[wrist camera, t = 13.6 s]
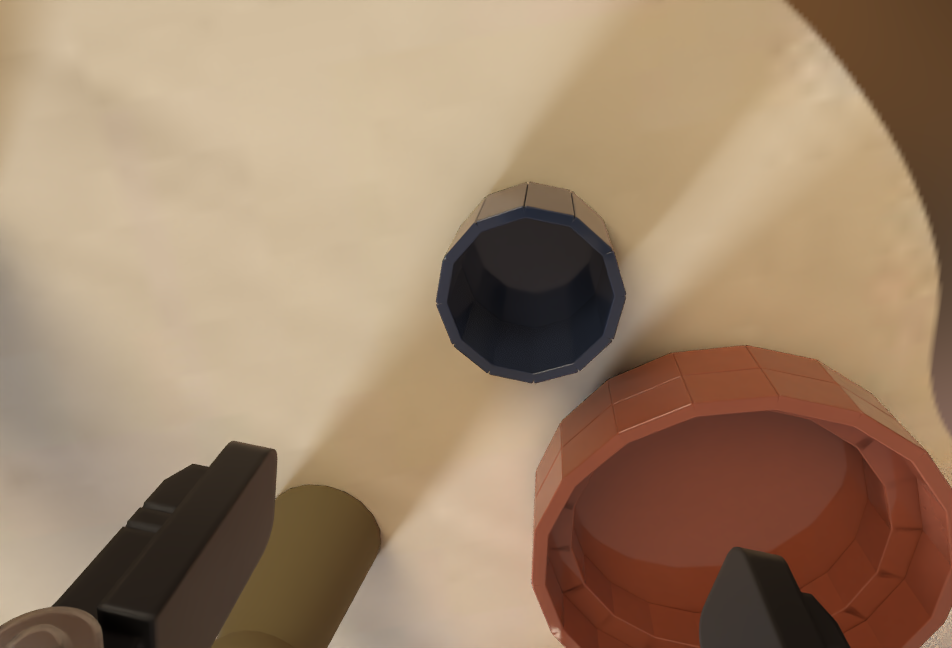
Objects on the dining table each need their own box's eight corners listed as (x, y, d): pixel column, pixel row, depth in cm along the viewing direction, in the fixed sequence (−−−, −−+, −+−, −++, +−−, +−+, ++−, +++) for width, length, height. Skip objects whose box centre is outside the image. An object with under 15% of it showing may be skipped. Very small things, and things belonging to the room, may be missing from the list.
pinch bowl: (445, 312, 26) (425, 361, 22) (470, 167, 24) (453, 191, 20) (588, 342, 26) (596, 397, 22) (629, 198, 24) (646, 230, 19)
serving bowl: (464, 500, 30) (450, 572, 26) (731, 261, 24) (769, 305, 20) (695, 674, 33) (716, 763, 29) (985, 499, 27) (1065, 580, 23)
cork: (366, 480, 30) (275, 690, 20) (391, 574, 33) (322, 804, 23) (251, 488, 31) (112, 693, 21) (284, 579, 34) (172, 801, 24)
